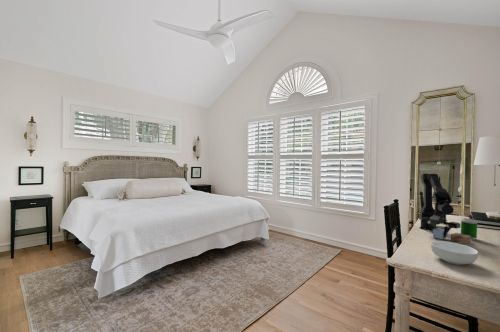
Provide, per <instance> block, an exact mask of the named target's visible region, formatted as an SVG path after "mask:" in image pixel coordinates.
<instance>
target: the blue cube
mask: <svg viewBox="0 0 500 332" xmlns="http://www.w3.org/2000/svg"><path fill="white" fill-rule="evenodd" d="M432 238H435V239H438V240H439V239H440V240H445V239H447V237H444V230H443V229H438V228H436V229H433V231H432Z"/></svg>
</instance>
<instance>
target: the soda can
mask: <svg viewBox="0 0 500 332" xmlns="http://www.w3.org/2000/svg"><path fill="white" fill-rule="evenodd" d="M460 222H461V223H460V225H461V226H460V234H464V235H469V236H470V241H475V240H476V239H477V238H478V221H477V220H476V219H473V218H464V217H463V218H462V219H460Z"/></svg>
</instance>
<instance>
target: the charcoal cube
mask: <svg viewBox="0 0 500 332" xmlns="http://www.w3.org/2000/svg"><path fill="white" fill-rule="evenodd" d="M444 227H445V226H443V225H442V226H441V225H436V228H438V229H443V230H444Z"/></svg>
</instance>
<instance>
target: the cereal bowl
mask: <svg viewBox="0 0 500 332" xmlns="http://www.w3.org/2000/svg"><path fill="white" fill-rule="evenodd" d="M430 245H431V246H430V248H431V251H432V253H433V254H434V255H435V256H436V257H438V258H439V259H441V260H443V262H446V263H449V264H451V265H452V264H453V265H457V266H463V265H471V264H472V263H475V262H476V261H477V259H478V257H479V251H478V250H476V249H475V248H473V247H471V246H468V245H466V244H462V243H458V242H454V241H447V240H446V241H444V240H435V241H432V242H431V243H430Z"/></svg>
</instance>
